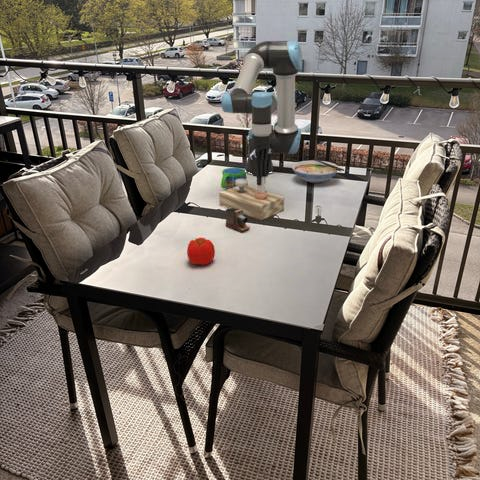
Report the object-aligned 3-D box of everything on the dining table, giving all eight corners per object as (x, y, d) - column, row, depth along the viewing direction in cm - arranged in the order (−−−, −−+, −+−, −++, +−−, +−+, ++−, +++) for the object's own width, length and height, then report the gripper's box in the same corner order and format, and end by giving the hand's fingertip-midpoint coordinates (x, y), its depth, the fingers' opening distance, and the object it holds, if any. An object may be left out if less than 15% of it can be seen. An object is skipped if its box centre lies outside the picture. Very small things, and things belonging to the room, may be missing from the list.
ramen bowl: (281, 177, 234) (282, 161, 230) (319, 171, 242) (320, 156, 239) (308, 192, 213) (309, 175, 210) (348, 185, 222) (350, 168, 218)
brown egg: (260, 204, 195) (260, 189, 192) (269, 207, 191) (269, 192, 189) (251, 207, 191) (252, 192, 188) (261, 210, 188) (261, 195, 185)
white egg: (241, 192, 200) (241, 177, 198) (250, 194, 197) (250, 180, 194) (233, 195, 197) (232, 180, 194) (241, 197, 194) (241, 183, 191)
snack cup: (238, 185, 223) (238, 164, 219) (254, 190, 216) (254, 169, 212) (214, 193, 213) (213, 171, 209) (229, 198, 206) (229, 176, 202)
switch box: (242, 197, 208) (242, 184, 205) (283, 210, 192) (284, 197, 190) (219, 205, 199) (219, 192, 196) (261, 220, 183) (261, 206, 181)
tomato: (200, 253, 158) (199, 233, 154) (220, 260, 153) (219, 240, 149) (181, 263, 151) (179, 242, 148) (200, 271, 146) (199, 250, 143)
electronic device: (242, 233, 172) (242, 214, 169) (224, 226, 178) (224, 208, 175) (250, 230, 175) (250, 211, 172) (233, 223, 181) (232, 205, 178)
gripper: (265, 130, 185) (264, 186, 195) (242, 135, 177) (243, 193, 187) (279, 132, 180) (278, 190, 190) (257, 138, 172) (257, 198, 182)
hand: (260, 192), depth 188 cm, fingers closed
